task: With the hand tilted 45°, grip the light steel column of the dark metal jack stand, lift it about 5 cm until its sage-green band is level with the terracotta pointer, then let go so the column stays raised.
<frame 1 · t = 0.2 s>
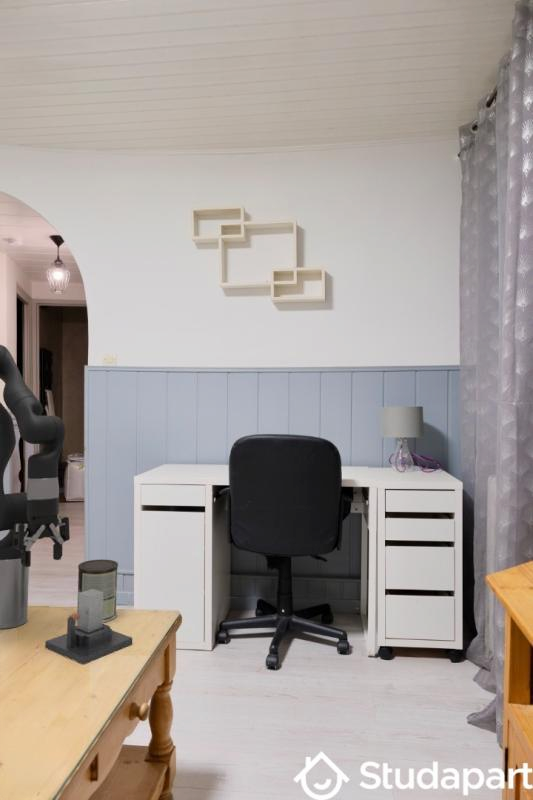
hand: (42, 562, 140), 18 cm above the table, tool pointing down, fingers open, 8 cm apart
coffee can: (96, 617, 154), on the table
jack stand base: (89, 645, 135), on the table
steel column: (90, 615, 135), point 7 cm above the table, slide at 0.0 cm
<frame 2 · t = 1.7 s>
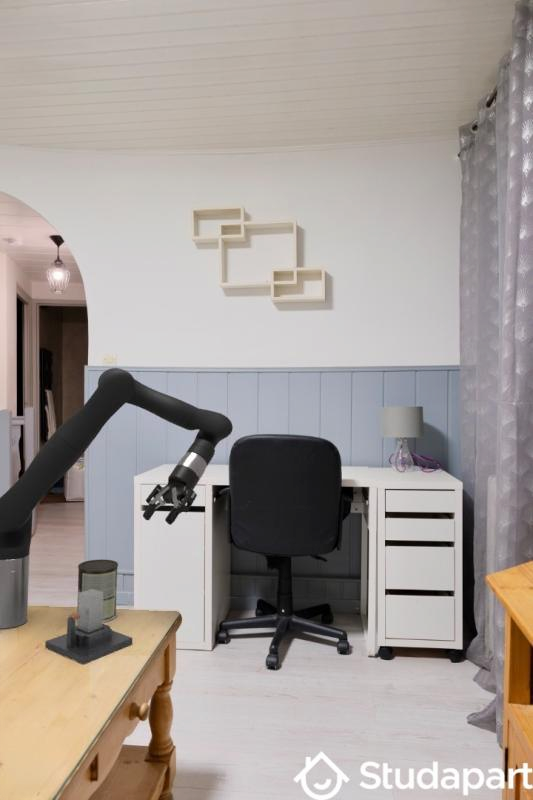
hand: (156, 520, 149), 27 cm above the table, tool tilted 45°, fingers open, 8 cm apart
nothing on the table moved.
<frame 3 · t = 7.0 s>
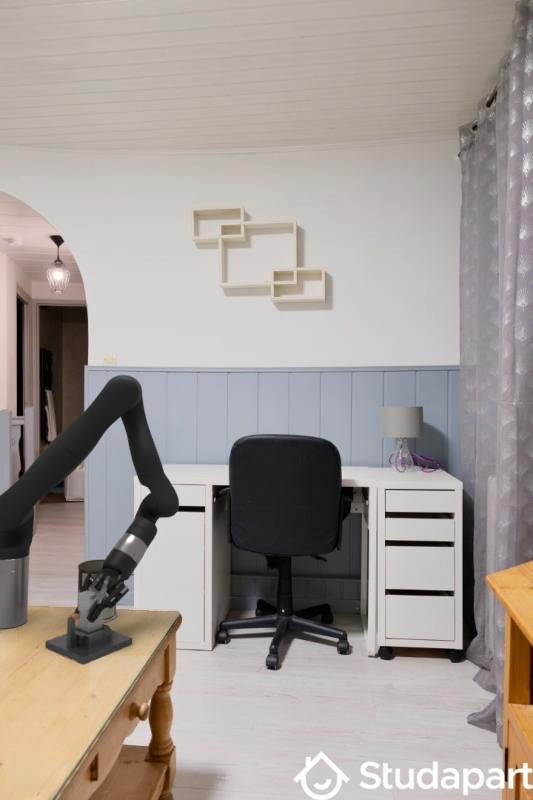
hand: (83, 618, 134), 7 cm above the table, tool tilted 45°, fingers closed on steel column, 4 cm apart
steel column: (90, 615, 135), point 7 cm above the table, slide at 0.0 cm, touching gripper
everything else where it was.
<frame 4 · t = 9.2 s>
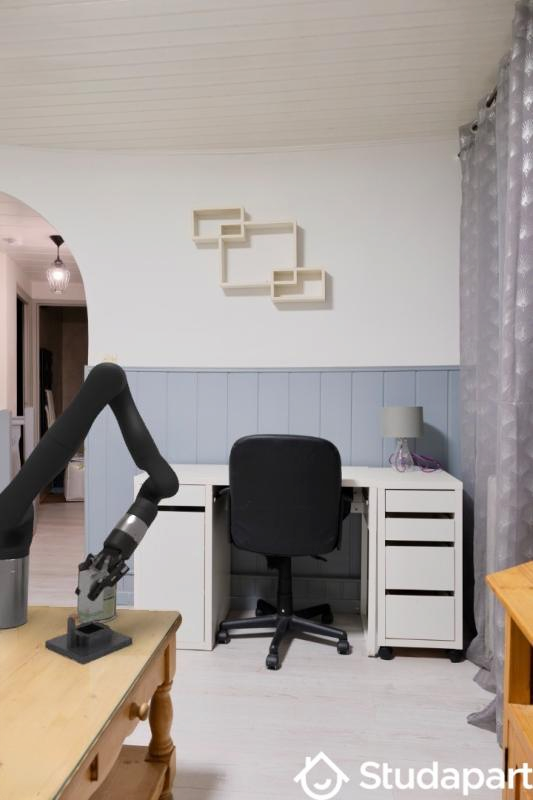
hand: (84, 596, 134), 12 cm above the table, tool tilted 45°, fingers closed on steel column, 4 cm apart
steel column: (91, 594, 135), point 12 cm above the table, slide at 4.9 cm, touching gripper
everything else where it was.
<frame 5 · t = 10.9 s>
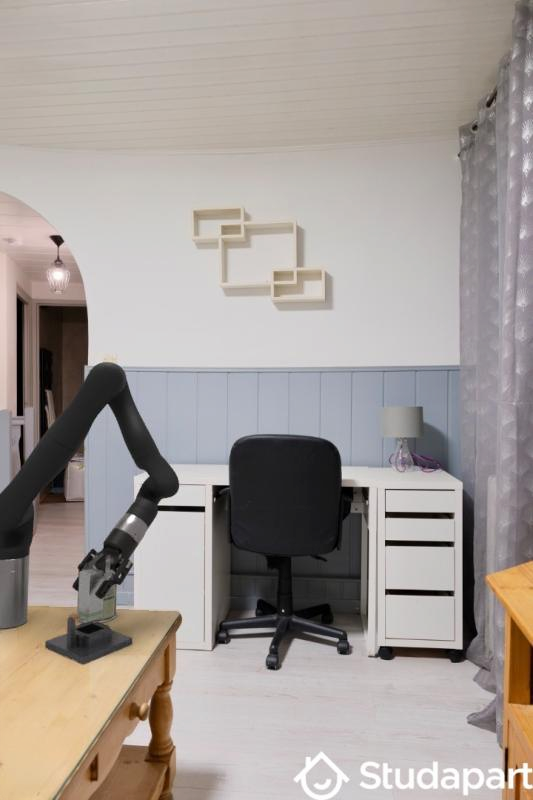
hand: (86, 593, 134), 13 cm above the table, tool tilted 45°, fingers open, 8 cm apart
steel column: (91, 594, 135), point 12 cm above the table, slide at 5.0 cm
everything else where it was.
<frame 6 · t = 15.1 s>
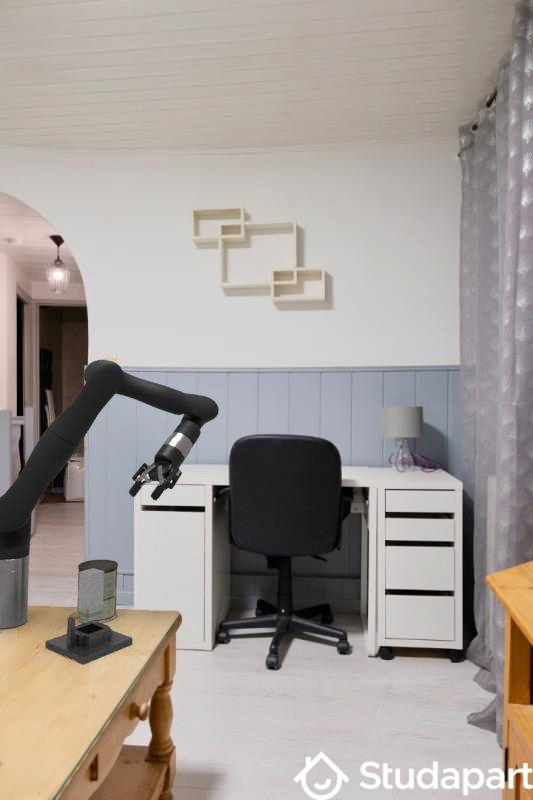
hand: (142, 496, 153), 33 cm above the table, tool tilted 45°, fingers open, 8 cm apart
nothing on the table moved.
at the end: steel column slide at 5.0 cm; the gripper is holding nothing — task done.
